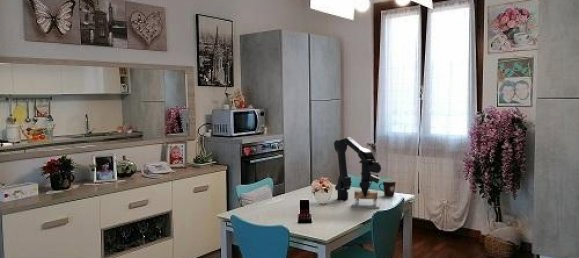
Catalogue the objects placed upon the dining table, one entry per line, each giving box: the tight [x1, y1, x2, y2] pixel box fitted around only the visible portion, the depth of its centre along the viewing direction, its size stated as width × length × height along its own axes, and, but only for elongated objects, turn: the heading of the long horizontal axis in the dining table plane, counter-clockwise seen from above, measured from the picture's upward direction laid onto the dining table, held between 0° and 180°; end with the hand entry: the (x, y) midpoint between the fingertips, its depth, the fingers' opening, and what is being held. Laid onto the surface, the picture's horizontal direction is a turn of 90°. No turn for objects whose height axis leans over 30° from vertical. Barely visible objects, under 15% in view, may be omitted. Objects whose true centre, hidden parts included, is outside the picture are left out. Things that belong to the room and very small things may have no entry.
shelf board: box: [353, 190, 378, 200], centre depth 281 cm, size 14×6×4 cm, turn 79°
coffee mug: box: [378, 179, 397, 197], centre depth 310 cm, size 12×9×10 cm
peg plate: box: [350, 198, 381, 210], centre depth 281 cm, size 17×10×4 cm, turn 75°
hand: (365, 195), depth 281 cm, fingers open, 6 cm apart
